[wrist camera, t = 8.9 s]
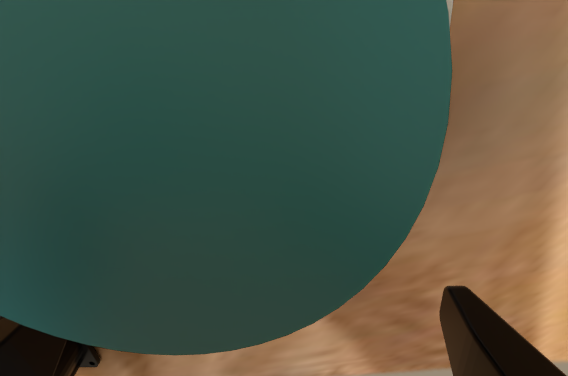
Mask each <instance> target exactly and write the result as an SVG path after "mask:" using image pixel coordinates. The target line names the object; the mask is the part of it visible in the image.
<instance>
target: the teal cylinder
mask: <svg viewBox="0 0 568 376" xmlns="http://www.w3.org/2000/svg"><path fill="white" fill-rule="evenodd" d="M451 79H452V60H451V44H450V28H449V12H448V7H447V2H446V0H0V316H2V317H5V318H7V319H9V320H12V321H14V322H17V323H19V324H21V325H24V326H27V327H30V328H32V329H35V330H38V331H41V332H44V333H47V334H50V335H53V336H56V337H60V338H63V339H67V340H71V341H75V342H78V343H82V344H86V345H91V346H96V347H101V348H106V349H111V350H117V351H125V352H133V353H142V354H158V355H194V354H209V353H216V352H224V351H232V350H237V349H241V348H246V347H250V346H254V345H259V344H262V343H265V342H268V341H271V340H274V339H277V338H280V337H283V336H286V335H289V334H291V333H293V332H295V331H297V330H300V329H302V328H304V327H306V326H308V325H311V324H313V323H315V322H316V321H318V320H319V319H321V318H323V317H324V316H326V315H328V314H329V313H331V312H333V311H334V310H336V309H338V308H339V307H340V306H342V305H343V304H344V303H346V302H347V301H348V300H349V299H351V298H352V297H353V296H354V295H356V294H357V293H358V292H360V291H361V290H362V289H363V288H364V287H365V286H366V285H367V284H368V283H369V282H370V281H371V280H372V279H373V278H374V277H375V276H376V275H377V274H378V273H379V272H380V271H381V270H382V269H383V268H384V267H385V266H386V264H387V263H388V262H389V260H390V259H391V258H392V256H393V255H394V254H395V252H396V251H397V250H398V248H399V247H400V246H401V244H402V243H403V241H404V240H405V239H406V237H407V235H408V234H409V232H410V230H411V228H412V226H413V224H414V223H415V221H416V219H417V217H418V215H419V213H420V212H421V210H422V208H423V206H424V204H425V201H426V198H427V196H428V193H429V190H430V188H431V185H432V182H433V180H434V177H435V174H436V172H437V169H438V166H439V162H440V157H441V152H442V148H443V143H444V139H445V134H446V130H447V125H448V118H449V105H450V92H451Z"/></svg>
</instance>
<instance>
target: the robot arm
mask: <svg viewBox="0 0 568 376" xmlns="http://www.w3.org/2000/svg"><path fill="white" fill-rule="evenodd" d="M440 322H441V327H442V331H443V335H444V339H445V343H446V348H447V352H448V356H449V360H450V364H451V369H452V373H453V376H566V375H565V374H564V373H563V372H562V371H561V370H559V369H558V368H557V367H556V366H555V365H554V364H553V363H552V362H551V361H550V360H548V359H547V358H546V357H545V356H544V355H543V354H542V353H541V352H539V351H538V350H537V349H536V348H535V347H534V346H533V345H532V344H530V343H529V342H528V341H527V340H526V339H525V338H524V337H523V336H521V335H520V334H519V333H518V332H517V331H516V330H515V329H514V328H512V327H511V326H510V325H509V324H508V323H507V322H506V321H505V320H503V319H502V318H501V317H500V316H499V315H498V314H497V313H496V312H494V311H493V310H492V309H491V308H490V307H489V306H488V305H487V304H485V303H484V302H483V301H482V300H481V299H480V298H479V297H478V296H476V295H475V294H474V293H473V292H472V291H471V290H470V289H469V288H467V287H465V286H447V287H445V289H444V291H443V296H442V301H441V306H440ZM100 361H101V360H100V358H99V356H98V354H97V353H96V351H95V349H94V348H93V346H91V345H86V344H82V343H78V342H75V341H71V340H67V339H63V338H60V337H56V336H53V335H50V334H47V333H44V332H41V331H38V330H35V329H32V328H30V327H27V326H24V325H21V324H19V323H17V322H14V321H12V320H9V319H7V318H5V317H2V316H0V376H74V375H75V374H76V372H77V370H78V368H79V367H97V366H98V365H99V363H100Z"/></svg>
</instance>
